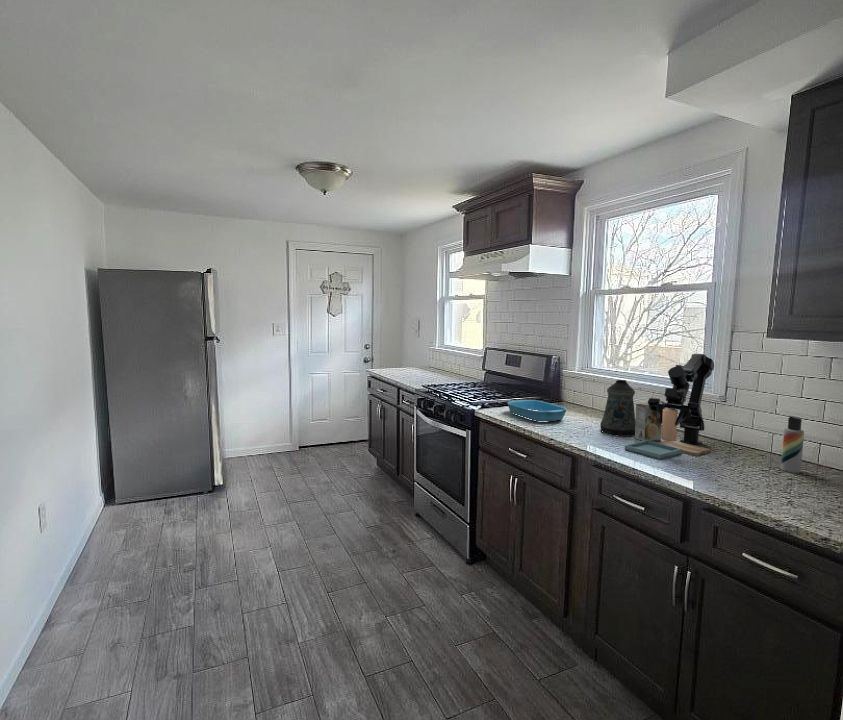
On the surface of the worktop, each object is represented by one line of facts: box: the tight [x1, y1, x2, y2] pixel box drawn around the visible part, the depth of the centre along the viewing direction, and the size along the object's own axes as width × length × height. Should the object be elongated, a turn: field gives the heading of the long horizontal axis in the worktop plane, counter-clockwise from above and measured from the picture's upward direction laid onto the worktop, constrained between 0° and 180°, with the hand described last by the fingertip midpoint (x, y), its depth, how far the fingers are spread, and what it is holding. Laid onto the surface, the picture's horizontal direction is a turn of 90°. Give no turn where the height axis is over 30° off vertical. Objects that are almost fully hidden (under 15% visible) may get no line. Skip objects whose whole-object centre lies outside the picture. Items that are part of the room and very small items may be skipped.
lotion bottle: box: [780, 415, 805, 474], centre depth 169 cm, size 6×6×20 cm
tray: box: [624, 440, 682, 460], centre depth 193 cm, size 15×15×2 cm
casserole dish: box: [507, 399, 567, 422], centre depth 258 cm, size 37×22×7 cm, turn 22°
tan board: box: [658, 440, 712, 457], centre depth 197 cm, size 11×17×1 cm, turn 32°
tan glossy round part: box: [661, 408, 679, 441], centre depth 186 cm, size 5×5×12 cm
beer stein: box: [599, 379, 636, 437], centre depth 226 cm, size 16×19×25 cm
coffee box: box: [634, 402, 662, 442], centre depth 212 cm, size 9×6×16 cm
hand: (668, 423), depth 185 cm, fingers closed on tan glossy round part, 5 cm apart
